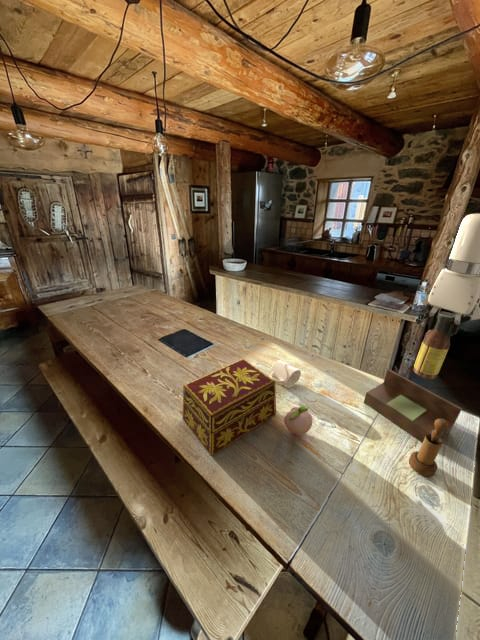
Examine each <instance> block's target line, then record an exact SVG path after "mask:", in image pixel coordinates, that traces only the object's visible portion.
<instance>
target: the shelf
mask: <svg viewBox="0 0 480 640" xmlns="http://www.w3.org/2000/svg"><path fill="white" fill-rule="evenodd" d="M363 403H364V404H365V405H367V406H368V407H370V408H371V409H372V410H374V411H375V412H377V413H378V414H380V415H381V416H383V418H386V420H388V421H390V422H391V423H393V424H394V425H396V426H397V427H399V428H400V429H401V430H403V431H404V432H405V433H407V434H408V435H410V436H411V437H413V438H414V439H416V440H417V441H419V442H420V443H421V444H422V443H423V441H424V439H425V436H426V435H427V434H432V431H433V430H435V425H434V422H435V421H436V420H437V419H443V420H445V421H446V422H447V423H448V425H449V427H448V429H447V430H446V431H444V432H442V433H441V434H442V437H441V438H440V439H441V440H442V441H443V440H444V439H445V438H446V437H448V435H450V433H451V432H452V429H453V427H454V425H455V423H456V422H457V420H458V417H459V416H460V413H461V412H462V410H463V408H462V407H461V406H459V405H457V404H456V403H454V402H451V401H450V400H448V399H446V398H444V397H442V396H440V395H438V394H437V393H435V392H434V391H433V392H432V391H431V390H429V389H427V388H425V387H423V386H421V385H420V384H418V383H416V382H414V381H413V380H411V379H409V378H407V377H405V376H403V375H402V374H399V373H398V372H395V371H394V370H392V369H390V368H389V369H387V370H386V373H385V376H384V379H383V382H382V383H380V384H378V385H376V386H375V387H372V388H371V389H370V390H368V391H366V392H365V396H364V399H363Z"/></svg>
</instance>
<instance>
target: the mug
mask: <svg viewBox="0 0 480 640" xmlns="http://www.w3.org/2000/svg"><path fill="white" fill-rule="evenodd" d="M301 376H302V371H301V370H300V369H299V368H296V367H294V366H292V365H291V364H290V363H287V362H285V361H283V360H281V359H278V360H276V361H275V362H274V363H273V364H272V365H271V368H270V370H269V377H270V378H271V379H273V380H274V381H275V385H279V386H283V387H285V388H287V389H291V388H292V387H295V385H297V383H298V382H299V380H300V378H301Z"/></svg>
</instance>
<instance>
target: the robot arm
mask: <svg viewBox="0 0 480 640" xmlns="http://www.w3.org/2000/svg"><path fill="white" fill-rule="evenodd" d="M420 302H421V303H422V304H423V306H424V307H425V308H426V310H427V311H428V315H429V319H428V321H427V326H428V327H427V330H428V331H429V330H431V329H432V328H433V327H434V324H435V322H436V319H437V314H438V312H441V310H442V309H444V310H446V311H449V312H452V313H453V312H454V315H455V320H454V322H453V323H451V325H450V327H449V330H448V332H447V336H448V337H450V338H451V337H452V336H454V335H456V334H458V331H459V329H460V326H461V324H463V323H467V322H469V321H476V320H480V213H470V214H467V215H465V217H463V219H462V221H461V223H460V226H459V229H458V233H457V235H456V237H455V241H454V243H453V247H452V250H451V252H450V254H449V258H448V260H447V264H446V267H444V268H442V269H441V271H440V272H439V274H438V276H437V278H436V279H435V282H434V284H433V286H432V288H431V290H430V293H428V294H427V295H425V297H423V298H421V299H420ZM471 313H472V314H471Z"/></svg>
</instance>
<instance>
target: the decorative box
mask: <svg viewBox="0 0 480 640" xmlns="http://www.w3.org/2000/svg"><path fill="white" fill-rule="evenodd" d="M276 394H277V393H276V384H275V381H274V380H273V379H271V378H270V376H269V375H267V374H266V373H265V372H263V371H262V370H260V369H259V368H257V367H256V366H255V365H253V364H251V363H250V362H249V361H247V360H246V359H245V358H241V359H239V360H237V361H235V362H232V363H230V364H228V365H225V366H223V367H220V368H218V369H216V370H214V371H211V372H209V373H207V374H205V375H203V376H200V377H198V378H196V379H193V380H191V381H189V382H187V383H184V384H183V387H182V413H181V414H182V415H181V416H182V418H181V419H182V420H183V422H184V423H185V424H186V426H187V427H188V428H189V429H190V431H191V432H192V433H193V435H194V436H195V437H196V439H197V440H198V441H199V443H200V444H201V445H202V446H203V448H204V449H205V450H206V452H207V453H208V454H209V456H211V457H213V456H214V455H216V454H218V453H220V452H221V451H222V450H224V449H225V448H227V447H229V446H230V445H231V444H233V443H234V442H236V441H238V440H239V439H240V438H242V437H245V435H247V434H248V433H250V432H251V431H253V430H255V429H256V428H258V427H259V426H261V425H262V424H264V423H265V422H267V421H268V420H270V419H271V418H273V417H274V416H276V414H277V397H276Z"/></svg>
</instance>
